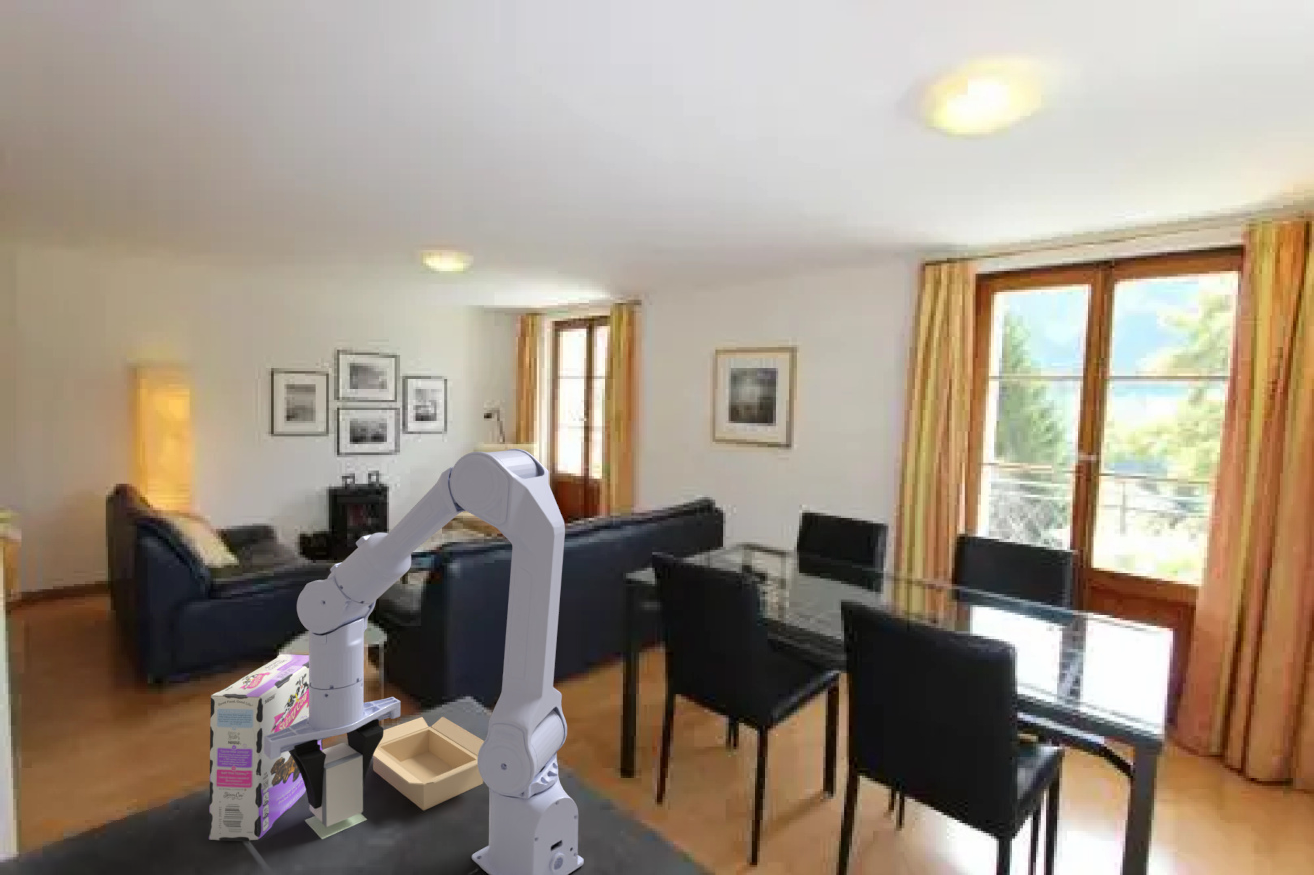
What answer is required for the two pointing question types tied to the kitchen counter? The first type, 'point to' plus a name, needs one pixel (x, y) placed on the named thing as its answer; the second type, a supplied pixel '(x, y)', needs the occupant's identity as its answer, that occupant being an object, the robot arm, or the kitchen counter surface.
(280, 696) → the candy box
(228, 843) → the kitchen counter surface
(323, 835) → the mat
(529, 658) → the robot arm
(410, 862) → the kitchen counter surface
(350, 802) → the block
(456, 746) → the carton
